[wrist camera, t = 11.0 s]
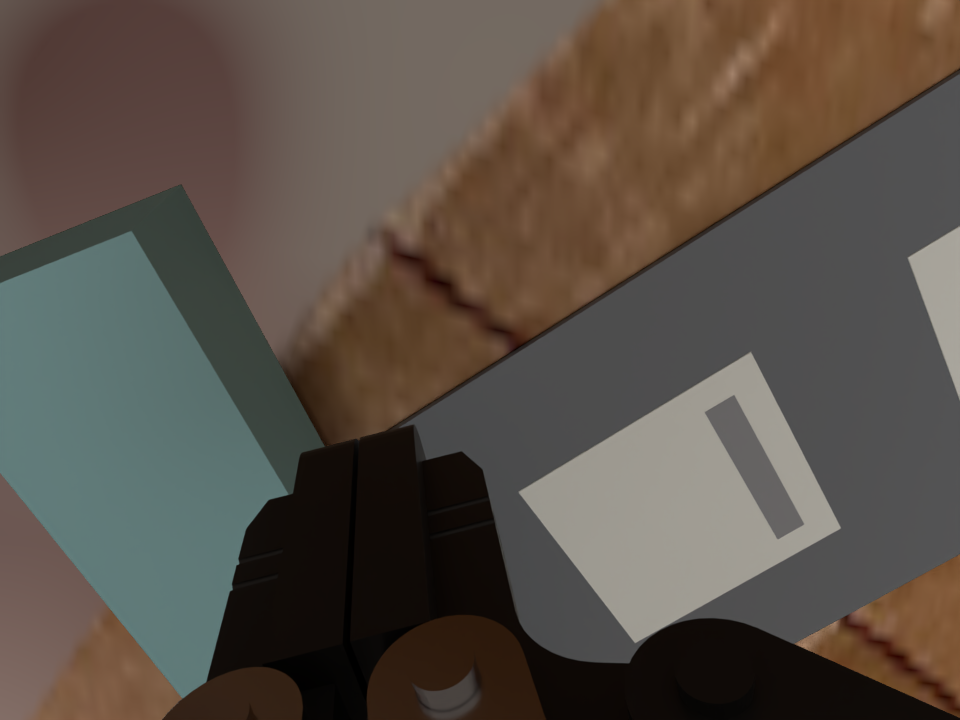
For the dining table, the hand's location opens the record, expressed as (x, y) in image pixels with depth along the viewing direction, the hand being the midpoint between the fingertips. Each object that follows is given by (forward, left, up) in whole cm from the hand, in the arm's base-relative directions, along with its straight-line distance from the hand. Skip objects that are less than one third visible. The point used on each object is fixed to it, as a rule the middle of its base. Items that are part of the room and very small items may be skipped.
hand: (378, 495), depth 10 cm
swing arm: (-5, +7, -10) cm, 13 cm away
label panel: (-12, -9, -11) cm, 19 cm away
